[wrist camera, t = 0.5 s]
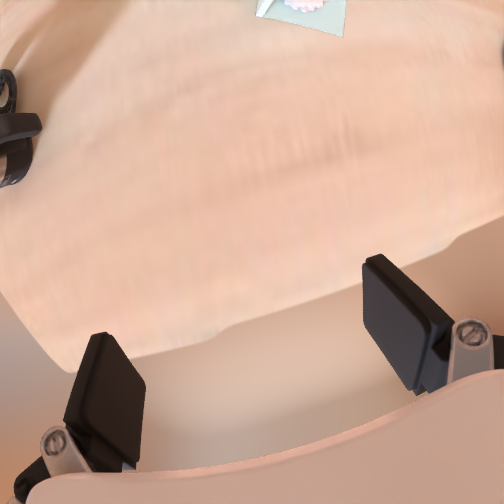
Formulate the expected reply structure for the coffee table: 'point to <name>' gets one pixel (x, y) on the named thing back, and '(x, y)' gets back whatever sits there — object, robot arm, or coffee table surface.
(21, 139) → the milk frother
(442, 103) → the coffee table surface
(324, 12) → the right angle wall
